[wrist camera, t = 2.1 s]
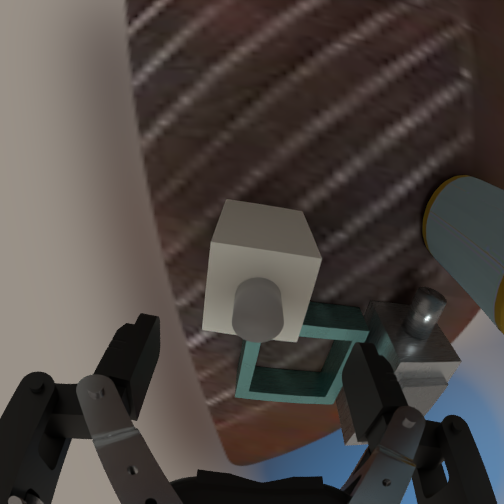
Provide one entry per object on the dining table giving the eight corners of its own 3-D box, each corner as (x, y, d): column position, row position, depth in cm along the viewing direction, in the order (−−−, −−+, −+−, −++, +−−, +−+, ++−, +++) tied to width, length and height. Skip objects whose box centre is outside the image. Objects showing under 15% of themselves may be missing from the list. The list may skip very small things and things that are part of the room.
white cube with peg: (226, 198, 20) (203, 262, 12) (302, 211, 20) (330, 281, 12) (217, 266, 22) (196, 356, 14) (286, 277, 22) (300, 369, 14)
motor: (260, 247, 21) (261, 317, 14) (438, 275, 22) (487, 334, 15) (235, 377, 27) (230, 449, 20) (381, 386, 28) (402, 447, 20)
